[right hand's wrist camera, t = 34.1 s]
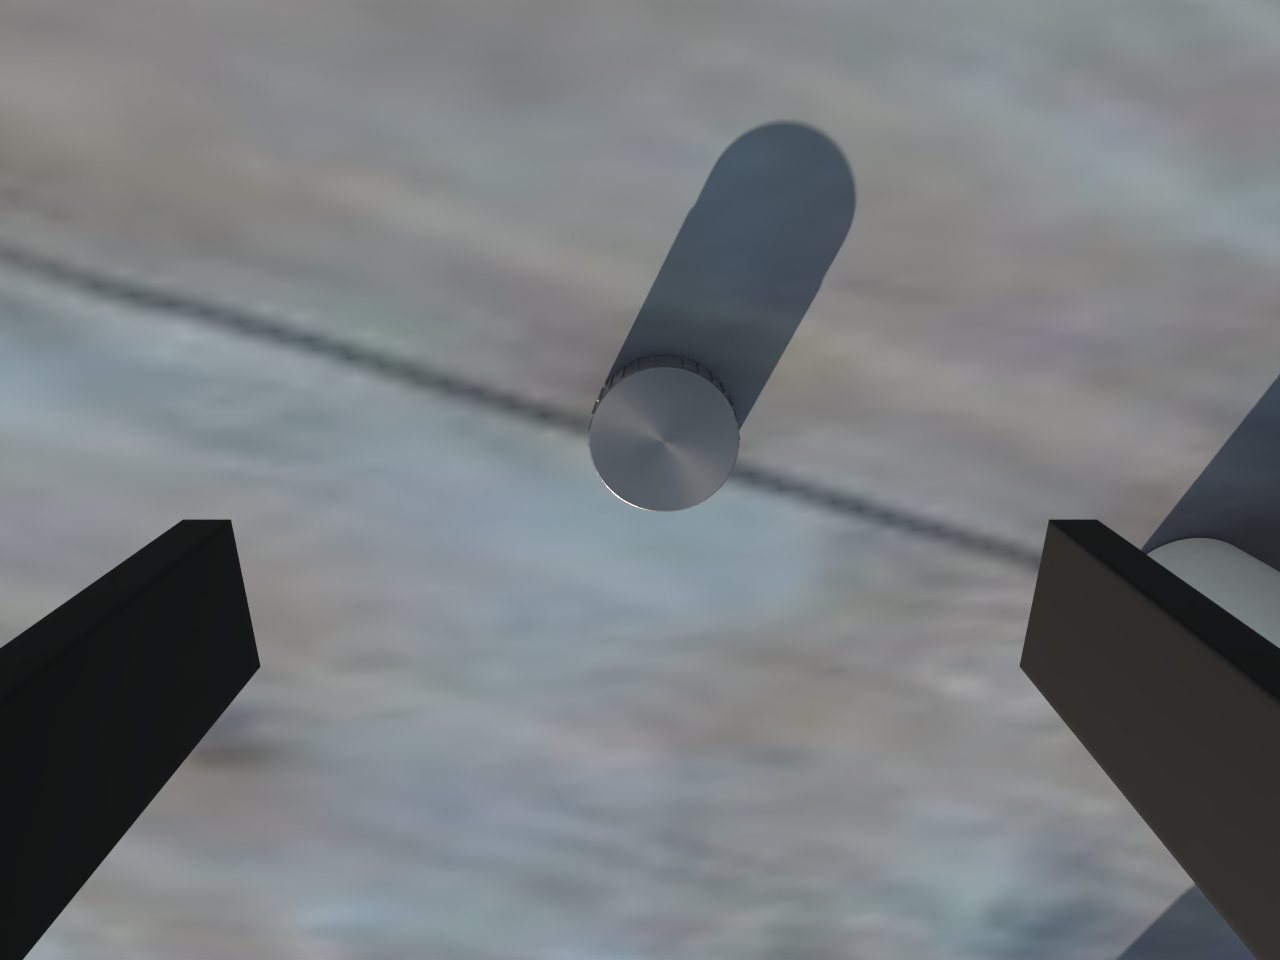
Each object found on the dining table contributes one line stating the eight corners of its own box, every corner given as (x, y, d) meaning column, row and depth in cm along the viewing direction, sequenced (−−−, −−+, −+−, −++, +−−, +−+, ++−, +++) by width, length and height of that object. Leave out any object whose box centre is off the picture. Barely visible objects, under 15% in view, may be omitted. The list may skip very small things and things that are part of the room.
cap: (720, 338, 24) (726, 350, 22) (745, 475, 25) (753, 497, 23) (578, 369, 24) (570, 383, 22) (610, 502, 26) (606, 526, 24)
